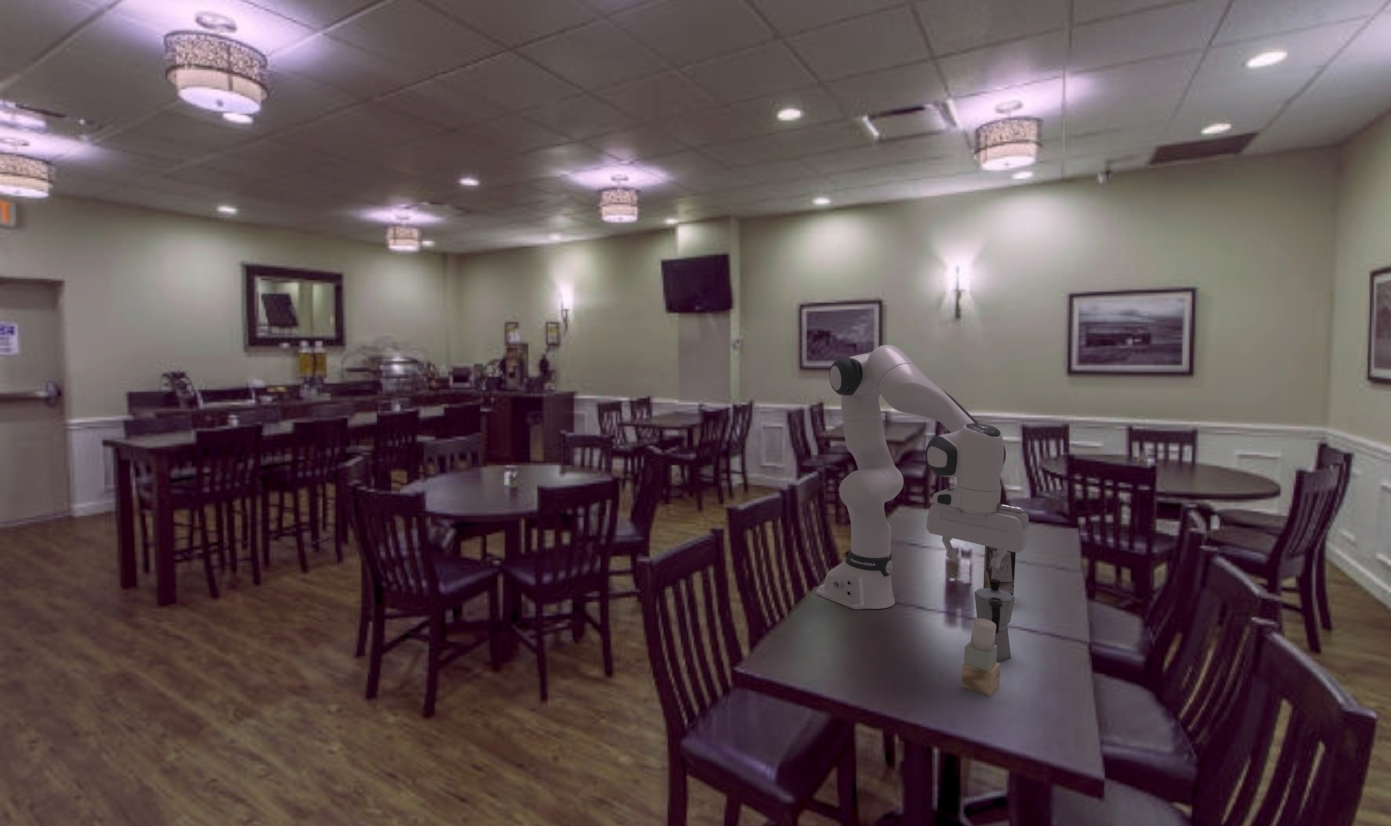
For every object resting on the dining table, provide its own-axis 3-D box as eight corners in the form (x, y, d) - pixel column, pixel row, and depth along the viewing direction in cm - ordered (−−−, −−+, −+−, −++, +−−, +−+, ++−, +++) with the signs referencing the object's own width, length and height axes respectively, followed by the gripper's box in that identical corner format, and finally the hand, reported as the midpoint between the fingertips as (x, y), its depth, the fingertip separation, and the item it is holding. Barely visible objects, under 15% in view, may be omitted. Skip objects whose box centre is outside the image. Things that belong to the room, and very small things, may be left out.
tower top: (964, 663, 142) (965, 646, 141) (972, 655, 146) (973, 638, 145) (988, 671, 138) (989, 653, 138) (996, 663, 142) (997, 645, 142)
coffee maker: (971, 638, 165) (974, 569, 164) (1010, 644, 162) (1013, 573, 160) (972, 665, 151) (976, 589, 150) (1015, 672, 148) (1018, 594, 147)
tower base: (961, 686, 142) (962, 664, 141) (971, 676, 146) (971, 655, 146) (990, 696, 138) (991, 673, 138) (999, 685, 142) (1000, 663, 142)
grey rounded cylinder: (966, 643, 142) (968, 622, 141) (978, 636, 144) (980, 616, 143) (986, 653, 138) (988, 631, 137) (998, 646, 141) (1000, 625, 140)
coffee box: (1013, 608, 185) (1016, 552, 183) (989, 606, 186) (991, 550, 185) (1005, 596, 194) (1008, 542, 192) (982, 594, 195) (984, 541, 194)
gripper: (1034, 506, 137) (1028, 570, 139) (937, 489, 150) (932, 547, 152) (1025, 512, 132) (1019, 578, 134) (925, 493, 146) (921, 554, 147)
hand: (972, 561), depth 143 cm, fingers open, 8 cm apart
